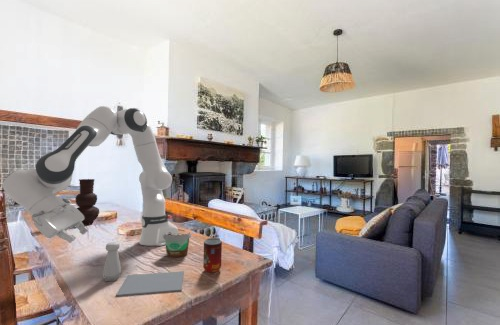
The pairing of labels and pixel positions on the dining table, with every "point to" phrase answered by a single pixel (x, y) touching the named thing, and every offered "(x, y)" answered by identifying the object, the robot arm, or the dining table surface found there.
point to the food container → (177, 245)
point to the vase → (87, 201)
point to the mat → (151, 283)
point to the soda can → (212, 255)
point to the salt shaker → (112, 262)
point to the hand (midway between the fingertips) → (79, 236)
